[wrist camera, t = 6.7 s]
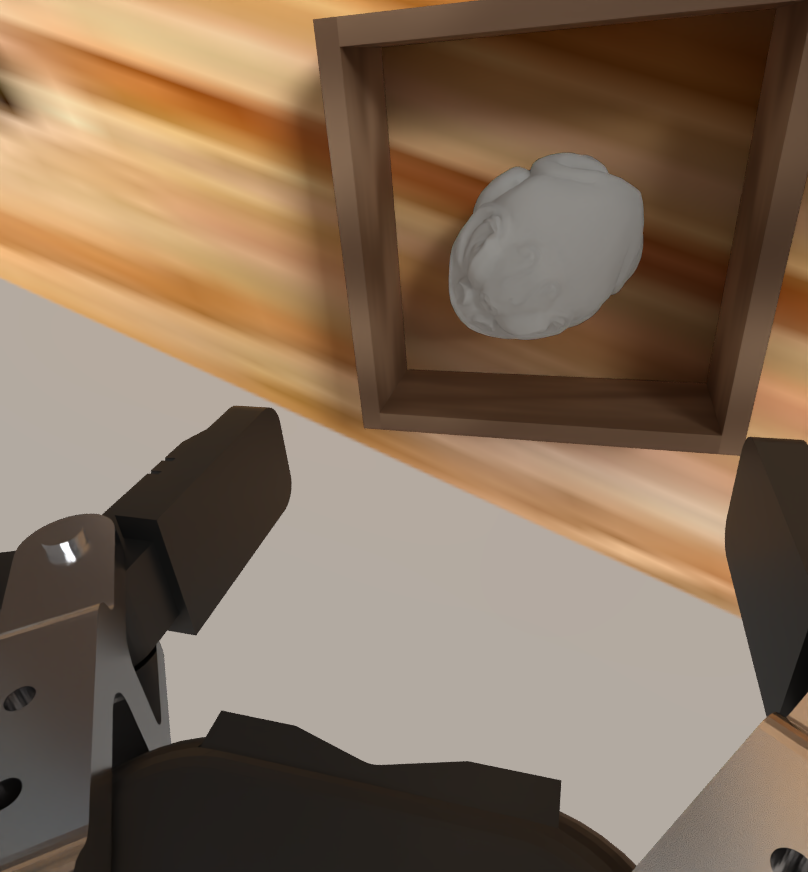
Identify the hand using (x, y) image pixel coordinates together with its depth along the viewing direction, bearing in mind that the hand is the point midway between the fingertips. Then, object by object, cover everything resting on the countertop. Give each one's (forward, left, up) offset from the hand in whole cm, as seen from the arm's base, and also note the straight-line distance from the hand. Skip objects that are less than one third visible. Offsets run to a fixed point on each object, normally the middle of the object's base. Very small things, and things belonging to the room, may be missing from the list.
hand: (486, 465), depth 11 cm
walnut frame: (0, 0, -18) cm, 18 cm away
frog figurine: (0, 0, -18) cm, 18 cm away
